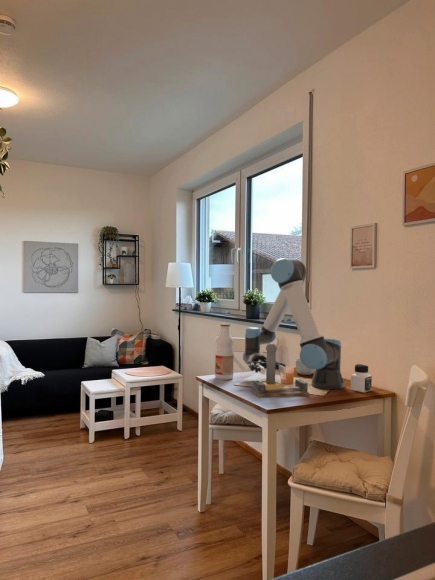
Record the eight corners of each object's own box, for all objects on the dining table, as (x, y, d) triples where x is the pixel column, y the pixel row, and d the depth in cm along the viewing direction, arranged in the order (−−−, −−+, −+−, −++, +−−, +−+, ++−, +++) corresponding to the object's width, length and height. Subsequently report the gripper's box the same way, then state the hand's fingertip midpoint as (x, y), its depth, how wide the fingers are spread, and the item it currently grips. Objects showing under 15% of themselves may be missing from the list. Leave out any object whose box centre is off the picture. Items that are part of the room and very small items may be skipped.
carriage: (275, 385, 195) (276, 341, 195) (280, 389, 188) (281, 343, 188) (260, 386, 194) (261, 341, 194) (265, 389, 187) (266, 344, 187)
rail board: (298, 389, 201) (298, 378, 201) (309, 395, 189) (309, 384, 189) (251, 390, 195) (251, 379, 195) (259, 397, 184) (259, 385, 184)
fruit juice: (230, 380, 216) (231, 325, 215) (212, 379, 218) (213, 324, 218) (235, 376, 225) (236, 323, 224) (217, 375, 227) (218, 322, 227)
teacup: (313, 376, 230) (314, 361, 230) (293, 374, 233) (293, 360, 233) (316, 371, 243) (316, 357, 243) (297, 370, 246) (297, 356, 246)
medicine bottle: (364, 392, 196) (365, 366, 196) (350, 390, 201) (350, 364, 201) (371, 390, 201) (372, 364, 201) (357, 387, 206) (357, 362, 206)
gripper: (279, 368, 211) (297, 378, 189) (236, 369, 206) (250, 380, 184) (279, 353, 211) (297, 361, 189) (236, 354, 206) (250, 362, 184)
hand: (274, 370), depth 187 cm, fingers open, 9 cm apart
